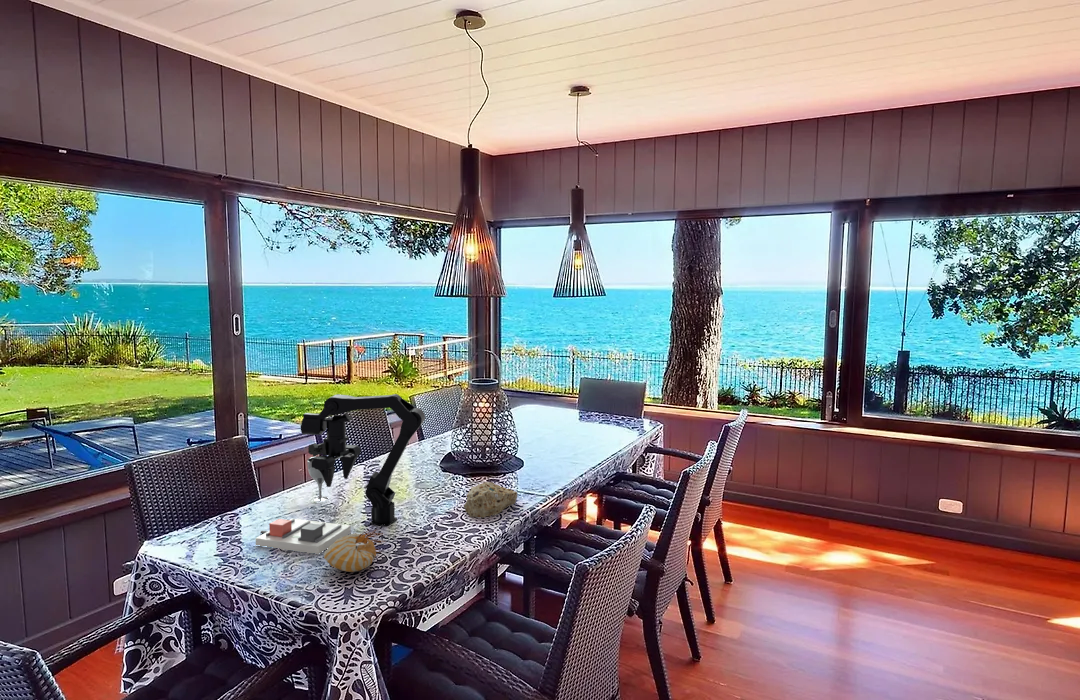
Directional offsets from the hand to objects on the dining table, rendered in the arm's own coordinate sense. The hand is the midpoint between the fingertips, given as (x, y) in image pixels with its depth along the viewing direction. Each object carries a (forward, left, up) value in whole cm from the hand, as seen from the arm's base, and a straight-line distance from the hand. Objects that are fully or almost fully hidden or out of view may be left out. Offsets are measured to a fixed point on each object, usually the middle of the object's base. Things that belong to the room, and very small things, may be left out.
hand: (337, 482), depth 190 cm
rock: (-43, -25, -13) cm, 52 cm away
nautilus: (-23, +24, -13) cm, 36 cm away
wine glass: (+18, -16, -13) cm, 27 cm away
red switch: (+7, +18, -10) cm, 22 cm away
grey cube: (-4, +19, -10) cm, 22 cm away
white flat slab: (+4, +15, -13) cm, 20 cm away
